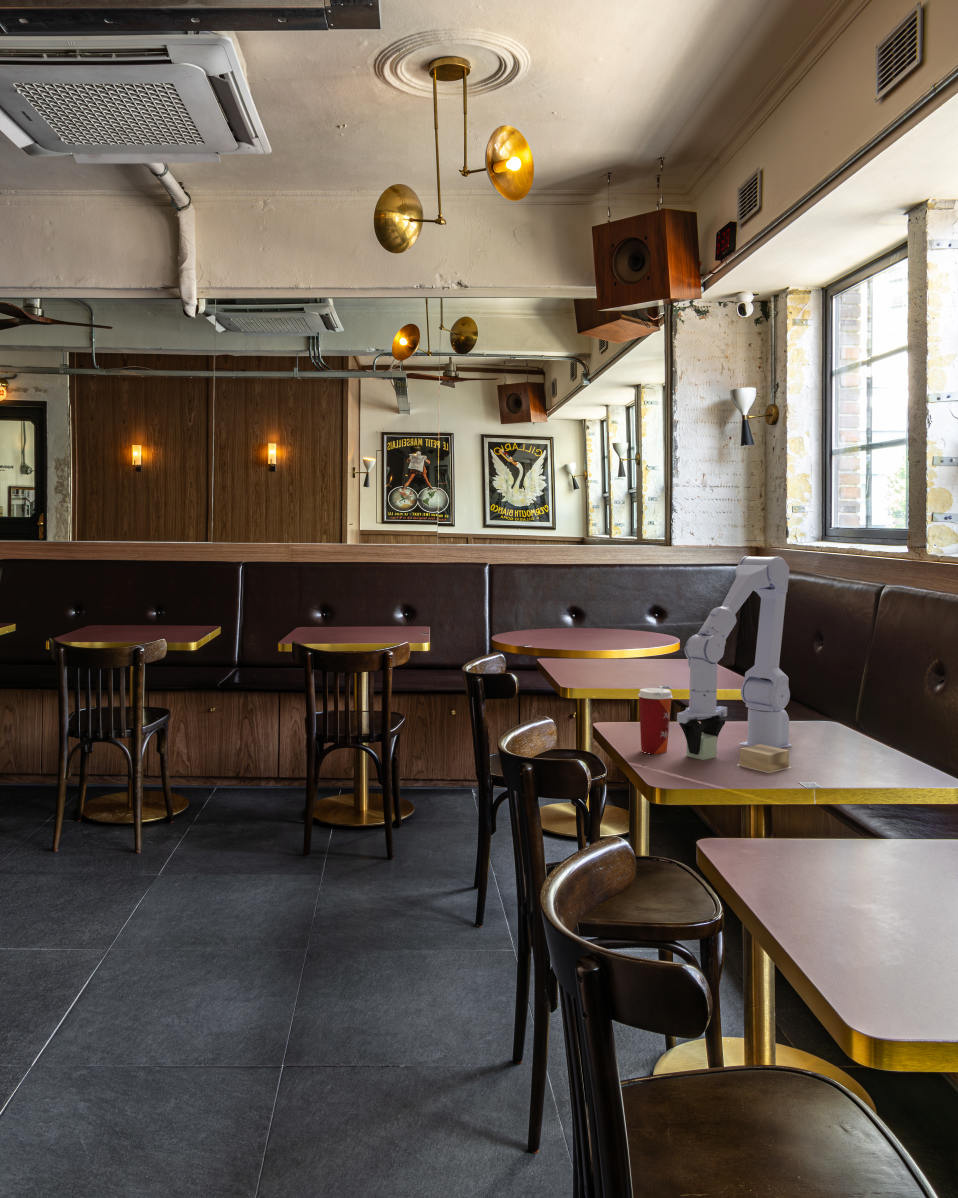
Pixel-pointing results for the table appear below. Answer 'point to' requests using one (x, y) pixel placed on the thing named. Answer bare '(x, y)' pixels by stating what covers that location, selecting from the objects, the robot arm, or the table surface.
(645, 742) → the paper cup
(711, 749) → the sage block
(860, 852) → the table surface
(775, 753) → the oak base
